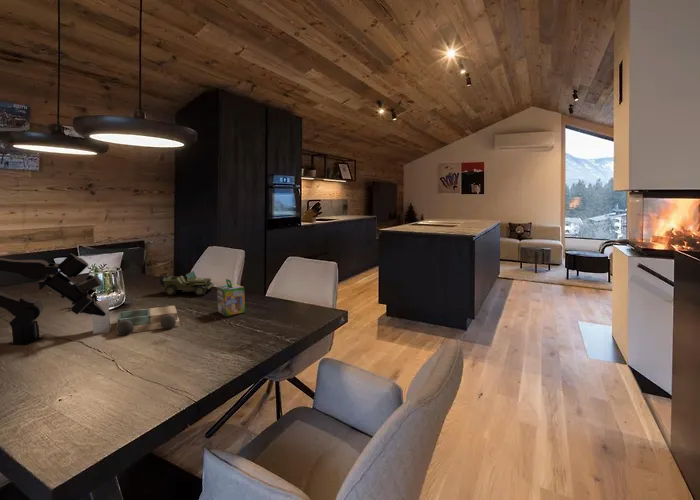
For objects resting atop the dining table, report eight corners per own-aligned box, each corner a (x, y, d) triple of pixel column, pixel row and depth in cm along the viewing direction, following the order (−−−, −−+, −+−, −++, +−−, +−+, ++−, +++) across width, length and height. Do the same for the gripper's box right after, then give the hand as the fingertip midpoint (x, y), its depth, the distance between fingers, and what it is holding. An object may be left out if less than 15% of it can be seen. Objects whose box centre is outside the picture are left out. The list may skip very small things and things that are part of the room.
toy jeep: (207, 296, 189) (206, 275, 188) (158, 295, 189) (156, 274, 187) (215, 290, 201) (214, 270, 200) (169, 290, 201) (168, 270, 199)
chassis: (117, 336, 132) (116, 322, 131) (118, 322, 147) (118, 309, 147) (180, 327, 142) (179, 314, 141) (175, 314, 158) (175, 303, 157)
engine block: (93, 334, 134) (90, 304, 132) (94, 330, 138) (92, 301, 136) (109, 332, 136) (107, 302, 135) (110, 328, 140) (108, 299, 139)
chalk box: (245, 313, 162) (244, 279, 160) (224, 316, 156) (223, 282, 154) (237, 308, 169) (236, 276, 167) (216, 311, 163) (215, 278, 161)
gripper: (80, 274, 124) (121, 302, 131) (86, 265, 140) (122, 291, 147) (53, 300, 121) (96, 327, 128) (62, 288, 137) (100, 313, 144)
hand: (105, 313), depth 137 cm, fingers closed on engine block, 5 cm apart
